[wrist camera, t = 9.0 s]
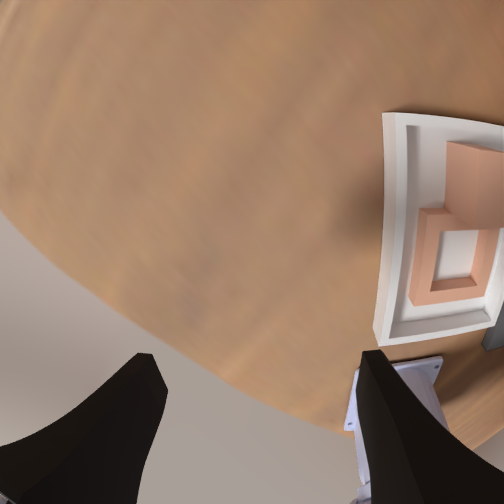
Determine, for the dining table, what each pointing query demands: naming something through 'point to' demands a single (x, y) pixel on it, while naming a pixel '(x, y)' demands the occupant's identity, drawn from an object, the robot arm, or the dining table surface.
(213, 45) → the dining table surface
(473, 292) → the ring
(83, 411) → the robot arm
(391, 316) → the tray
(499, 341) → the grey plate with knob
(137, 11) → the dining table surface
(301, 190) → the dining table surface
